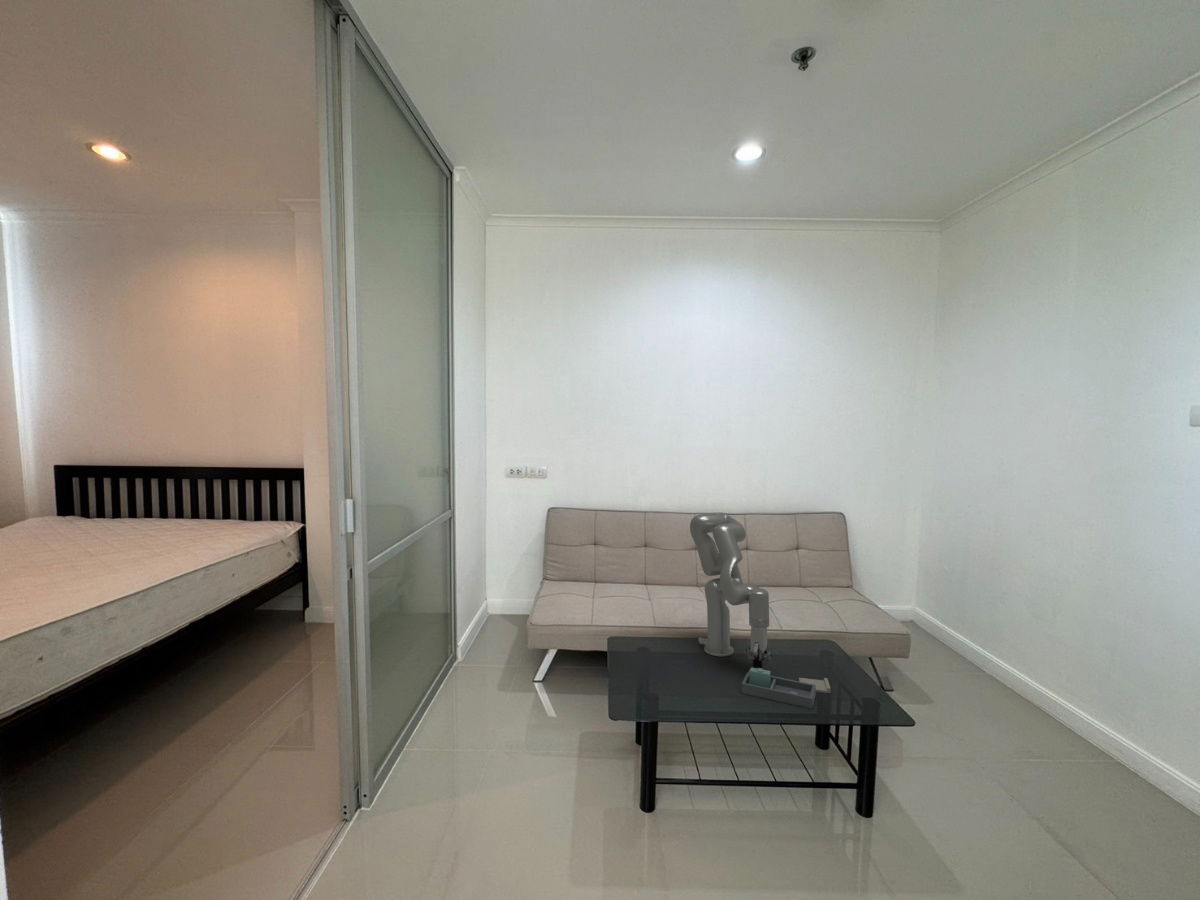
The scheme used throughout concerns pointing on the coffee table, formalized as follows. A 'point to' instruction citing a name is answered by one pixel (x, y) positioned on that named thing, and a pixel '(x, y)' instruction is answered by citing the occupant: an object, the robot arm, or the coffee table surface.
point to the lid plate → (818, 684)
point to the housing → (778, 688)
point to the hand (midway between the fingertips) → (760, 664)
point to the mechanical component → (750, 655)
